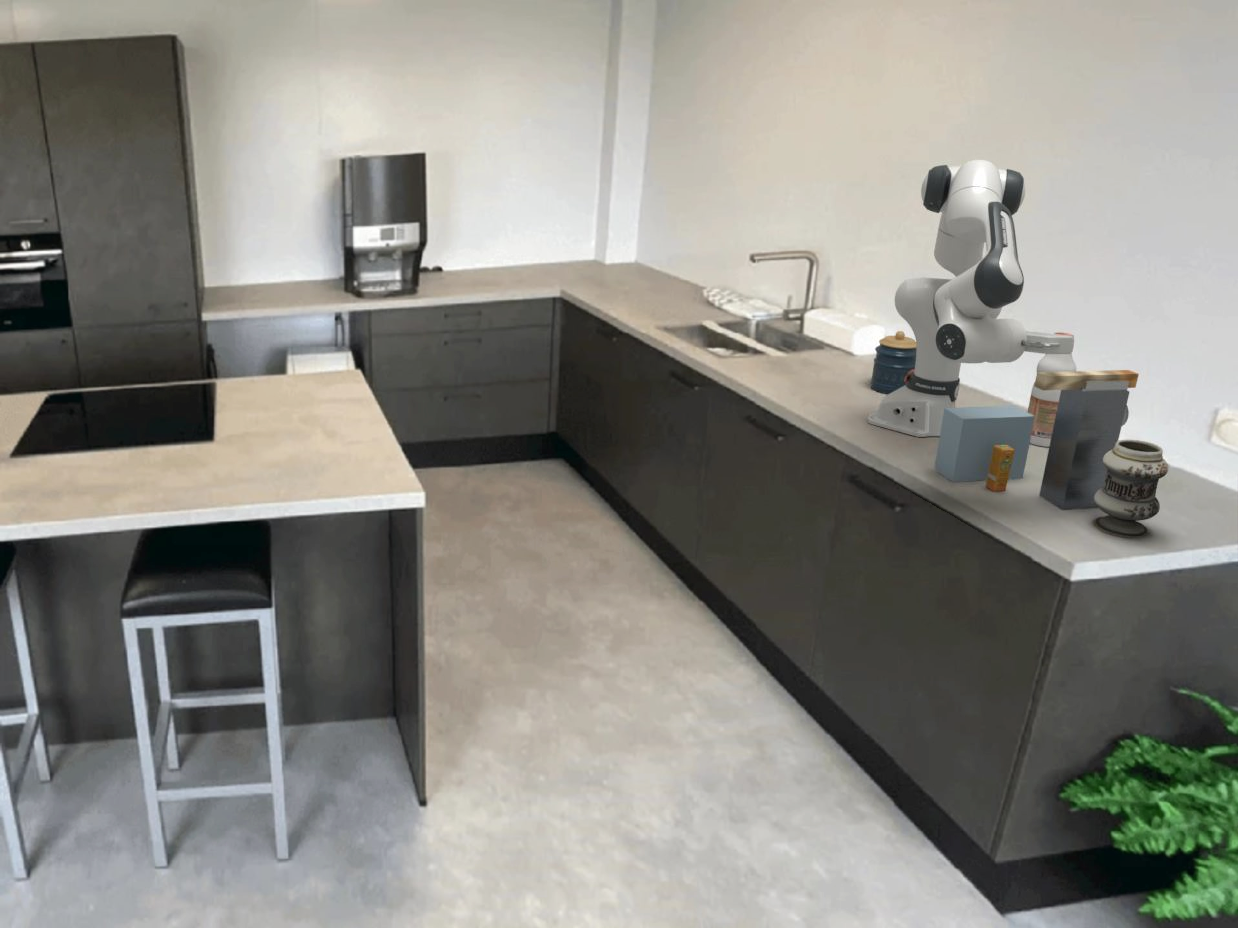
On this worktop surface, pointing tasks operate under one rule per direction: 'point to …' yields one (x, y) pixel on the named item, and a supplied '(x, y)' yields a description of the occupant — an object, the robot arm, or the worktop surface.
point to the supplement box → (1000, 467)
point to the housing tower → (1083, 442)
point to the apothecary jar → (1130, 487)
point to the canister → (893, 362)
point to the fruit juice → (1047, 397)
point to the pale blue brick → (981, 440)
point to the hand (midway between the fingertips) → (1047, 340)
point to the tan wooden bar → (1081, 379)
